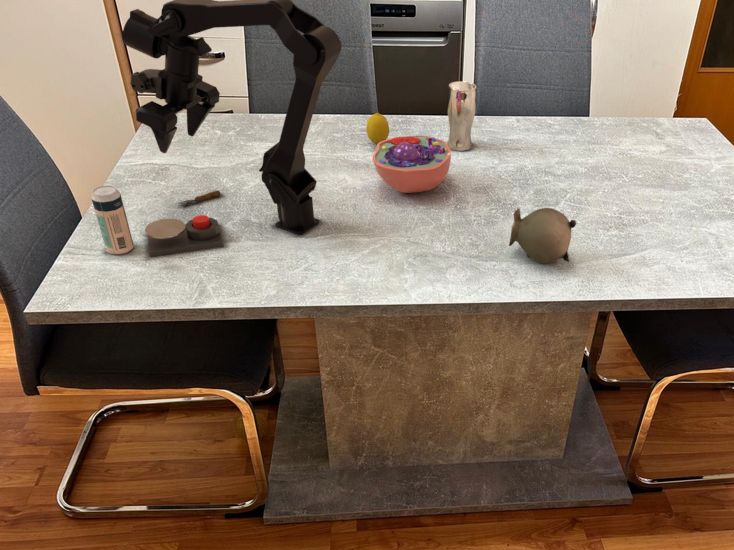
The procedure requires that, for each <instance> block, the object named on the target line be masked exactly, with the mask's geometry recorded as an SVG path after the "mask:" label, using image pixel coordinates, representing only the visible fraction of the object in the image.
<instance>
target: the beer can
mask: <svg viewBox="0 0 734 550" xmlns="http://www.w3.org/2000/svg"><path fill="white" fill-rule="evenodd" d="M90 199H91V201H92V206H93V209H94V213H95V217H96V220H97V224H98V227H99V230H100V233H101V237H102V241H103V243H104V247H105V250H106V252H107V253H109V254H112V255H123V254H127V253H129V252H131V251H132V250H133V249H134V247H135V245H134V244H135V243H134V240H133V237H132V233H131V228H130V226H129V225H130V224H129V221H128V217H127V213H126V210H125V206H124V202H123V197H122V195H121V192H120V191H119V190H118V188H116V187H115V186H113V185H102V186H101V185H100V186H98V187H96V188H94V189H92V193H91V197H90Z"/></svg>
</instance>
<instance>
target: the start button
mask: <svg viewBox="0 0 734 550" xmlns="http://www.w3.org/2000/svg"><path fill="white" fill-rule="evenodd" d="M209 218H210V217H209V216H208V215H203V214H200V215H195V216H193V218H192V219H193V225H194V228H195V229H206V228H208V227H210V221H209Z"/></svg>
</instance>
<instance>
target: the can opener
mask: <svg viewBox="0 0 734 550" xmlns="http://www.w3.org/2000/svg"><path fill="white" fill-rule="evenodd" d="M219 196H221V191H220V190H214V191H210V192H207V193H205V194H203V195H199V196H196V197H195V198H194V199H187V200H182V201H180V202H179V203H178V205H181V206H183V207H185V206H187V205H188V204H194V203H199V202H202V201H205V200H209V199H214V198H217V197H219ZM184 203H185V204H184Z"/></svg>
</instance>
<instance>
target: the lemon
mask: <svg viewBox="0 0 734 550" xmlns="http://www.w3.org/2000/svg"><path fill="white" fill-rule="evenodd" d="M365 131H366V135H367V137H368V139H369V140H370V141H371V142H372V143H374V144H375V145H377V144H378V143H379V142H381V141H384V140H387V139H389V138H388V137H389V135H390V125H389V122H388V119H387V118H386V116H384V115H383V114H381V113H379V112H375V113H374V114H372V115H370V117H368V120H367V122H366V128H365Z"/></svg>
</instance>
